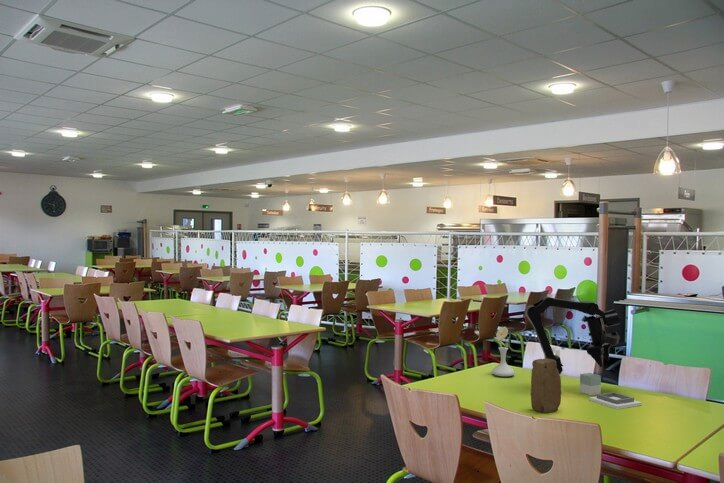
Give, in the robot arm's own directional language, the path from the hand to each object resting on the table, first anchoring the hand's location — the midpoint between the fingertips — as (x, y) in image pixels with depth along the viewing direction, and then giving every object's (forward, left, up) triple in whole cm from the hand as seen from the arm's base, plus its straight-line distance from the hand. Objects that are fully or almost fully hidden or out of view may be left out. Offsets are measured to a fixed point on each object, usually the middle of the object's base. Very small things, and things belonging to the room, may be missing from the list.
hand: (604, 363), depth 245 cm
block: (-43, -10, -13) cm, 46 cm away
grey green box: (-6, +3, -13) cm, 14 cm away
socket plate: (-9, -13, -13) cm, 20 cm away
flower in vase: (-21, +44, -13) cm, 50 cm away
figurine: (+1, +34, -13) cm, 36 cm away
